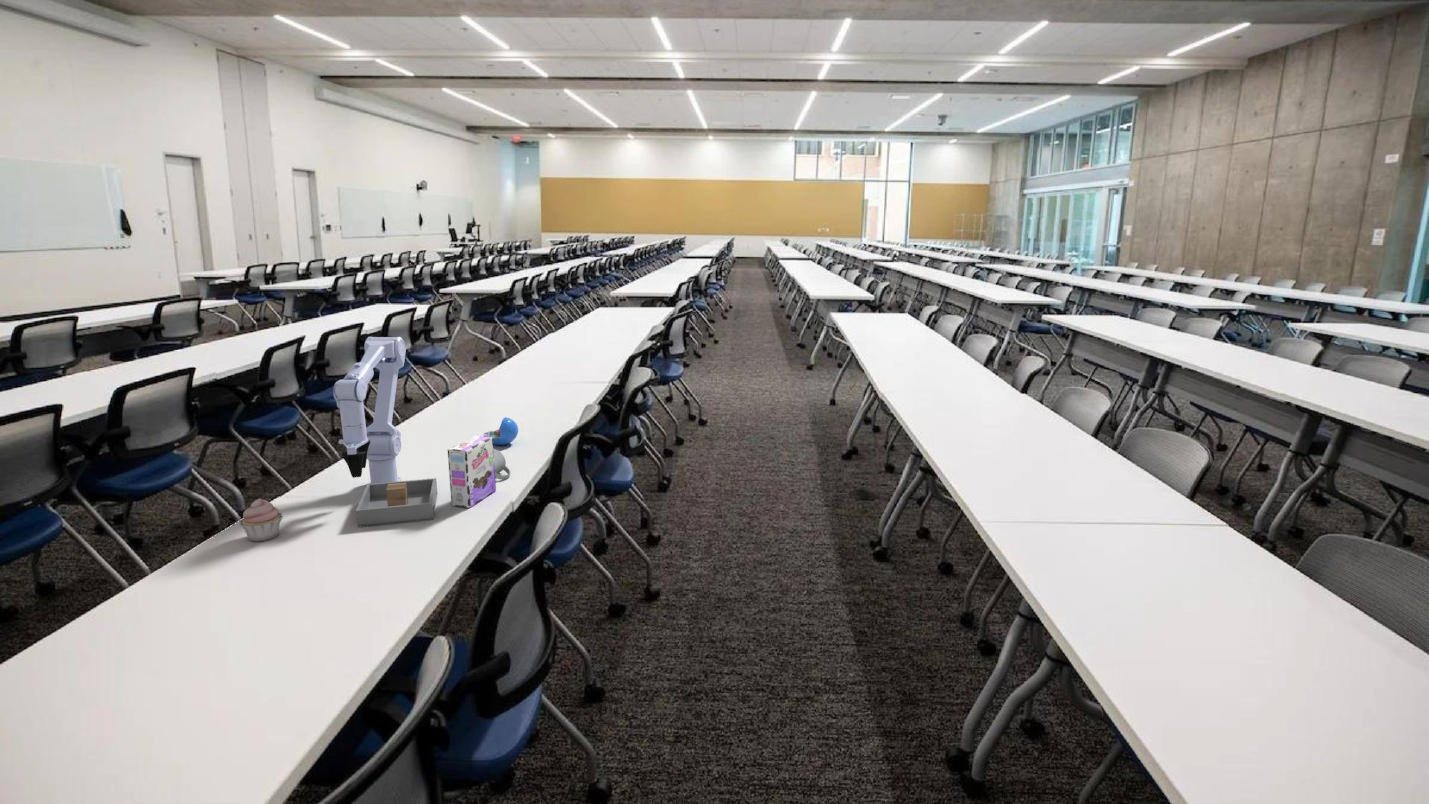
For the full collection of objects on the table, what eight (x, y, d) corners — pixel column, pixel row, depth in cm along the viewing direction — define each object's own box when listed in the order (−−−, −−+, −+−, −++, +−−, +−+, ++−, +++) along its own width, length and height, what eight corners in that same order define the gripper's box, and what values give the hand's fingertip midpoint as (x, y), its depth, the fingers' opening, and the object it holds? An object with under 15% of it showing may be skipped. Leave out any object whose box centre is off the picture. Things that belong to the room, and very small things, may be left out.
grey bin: (368, 499, 207) (367, 484, 206) (437, 493, 212) (436, 478, 211) (357, 527, 189) (355, 510, 188) (433, 519, 194) (431, 503, 193)
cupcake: (265, 546, 177) (260, 507, 175) (232, 543, 179) (226, 504, 177) (294, 531, 186) (289, 493, 184) (262, 527, 188) (257, 490, 186)
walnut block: (390, 505, 202) (388, 484, 200) (408, 503, 203) (406, 482, 202) (388, 511, 198) (386, 489, 196) (406, 509, 199) (404, 488, 197)
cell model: (490, 439, 264) (488, 413, 261) (523, 440, 263) (521, 414, 260) (479, 447, 254) (477, 420, 252) (513, 449, 253) (511, 422, 251)
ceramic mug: (470, 479, 223) (468, 455, 221) (484, 471, 231) (483, 447, 229) (502, 483, 221) (501, 458, 219) (515, 474, 229) (514, 450, 227)
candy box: (470, 508, 201) (465, 450, 197) (450, 506, 203) (446, 448, 199) (497, 491, 214) (493, 436, 210) (478, 489, 216) (474, 434, 212)
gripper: (341, 417, 203) (347, 465, 207) (331, 432, 190) (337, 482, 193) (370, 416, 205) (375, 463, 209) (362, 430, 192) (367, 480, 195)
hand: (359, 472), depth 201 cm, fingers open, 7 cm apart
